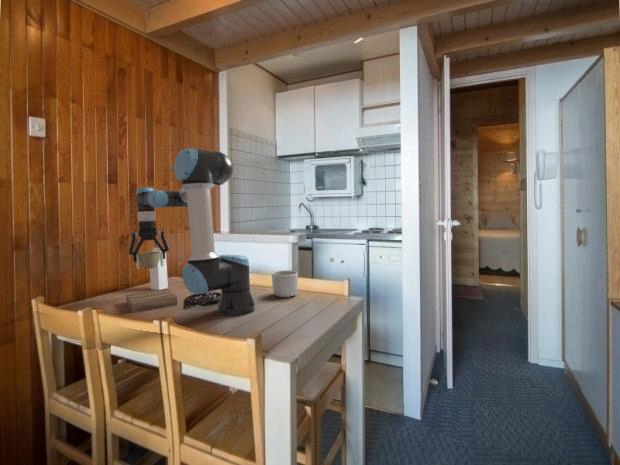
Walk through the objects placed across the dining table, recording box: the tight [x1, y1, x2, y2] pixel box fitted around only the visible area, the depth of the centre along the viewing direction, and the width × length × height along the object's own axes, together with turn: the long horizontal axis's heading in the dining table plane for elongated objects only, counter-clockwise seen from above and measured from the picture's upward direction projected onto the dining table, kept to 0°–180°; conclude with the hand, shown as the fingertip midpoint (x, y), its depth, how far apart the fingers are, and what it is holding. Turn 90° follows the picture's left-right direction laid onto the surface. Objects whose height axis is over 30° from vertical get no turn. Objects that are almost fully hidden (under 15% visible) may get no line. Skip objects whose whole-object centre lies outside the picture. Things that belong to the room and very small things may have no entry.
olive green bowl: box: [137, 251, 161, 270], centre depth 167 cm, size 10×10×7 cm
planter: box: [271, 270, 299, 298], centre depth 167 cm, size 12×12×11 cm
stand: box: [126, 288, 178, 314], centre depth 158 cm, size 18×18×4 cm
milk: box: [149, 247, 169, 291], centre depth 187 cm, size 6×6×22 cm
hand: (150, 267), depth 167 cm, fingers closed on olive green bowl, 10 cm apart
